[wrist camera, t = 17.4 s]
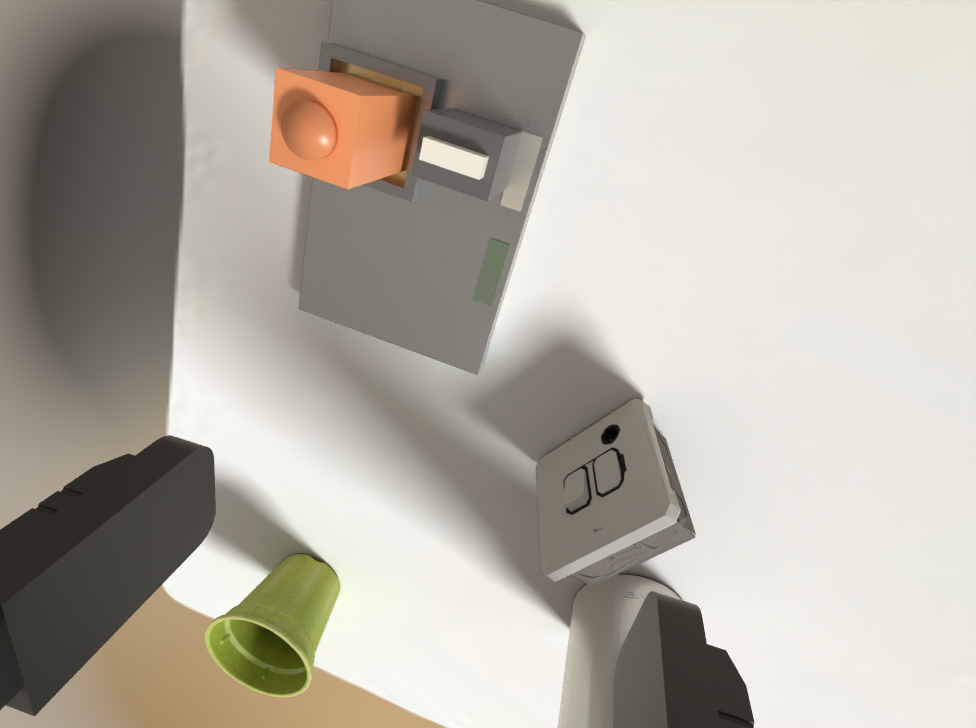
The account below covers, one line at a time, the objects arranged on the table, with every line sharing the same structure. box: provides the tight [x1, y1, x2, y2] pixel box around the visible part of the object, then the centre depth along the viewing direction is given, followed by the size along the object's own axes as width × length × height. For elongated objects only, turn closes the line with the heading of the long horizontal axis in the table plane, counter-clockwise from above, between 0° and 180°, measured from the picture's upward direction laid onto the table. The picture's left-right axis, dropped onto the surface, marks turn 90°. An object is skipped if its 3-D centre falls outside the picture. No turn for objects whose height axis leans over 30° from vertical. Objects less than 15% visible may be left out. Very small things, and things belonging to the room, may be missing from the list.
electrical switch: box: [536, 398, 696, 587], centre depth 34 cm, size 9×5×9 cm, turn 135°
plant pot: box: [205, 554, 340, 697], centre depth 48 cm, size 9×9×9 cm
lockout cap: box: [269, 68, 418, 189], centre depth 27 cm, size 4×4×8 cm
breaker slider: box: [411, 108, 523, 202], centre depth 27 cm, size 3×4×5 cm
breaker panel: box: [299, 0, 586, 375], centre depth 32 cm, size 20×13×3 cm, turn 165°
